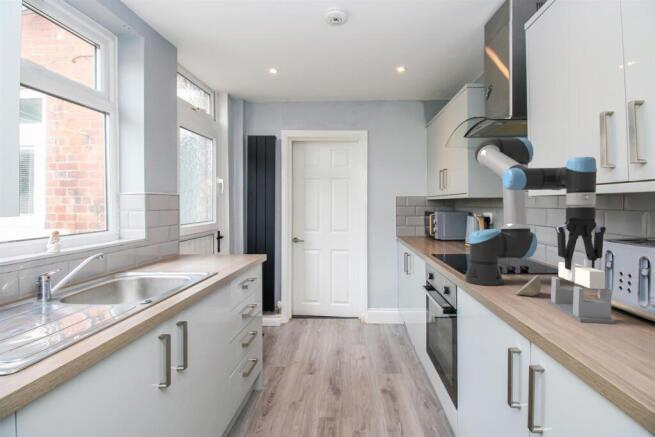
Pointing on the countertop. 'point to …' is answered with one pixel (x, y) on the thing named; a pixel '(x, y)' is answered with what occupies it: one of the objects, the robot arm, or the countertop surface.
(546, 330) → the countertop surface
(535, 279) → the stone
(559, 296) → the bracket stand
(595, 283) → the rail
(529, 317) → the countertop surface
